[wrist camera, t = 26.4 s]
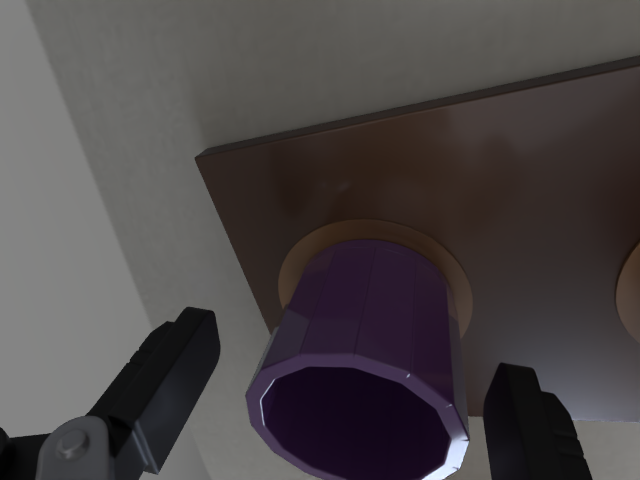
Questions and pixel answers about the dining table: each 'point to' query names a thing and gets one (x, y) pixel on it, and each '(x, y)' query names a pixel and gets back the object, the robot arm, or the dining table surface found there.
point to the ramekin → (365, 369)
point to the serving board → (473, 221)
